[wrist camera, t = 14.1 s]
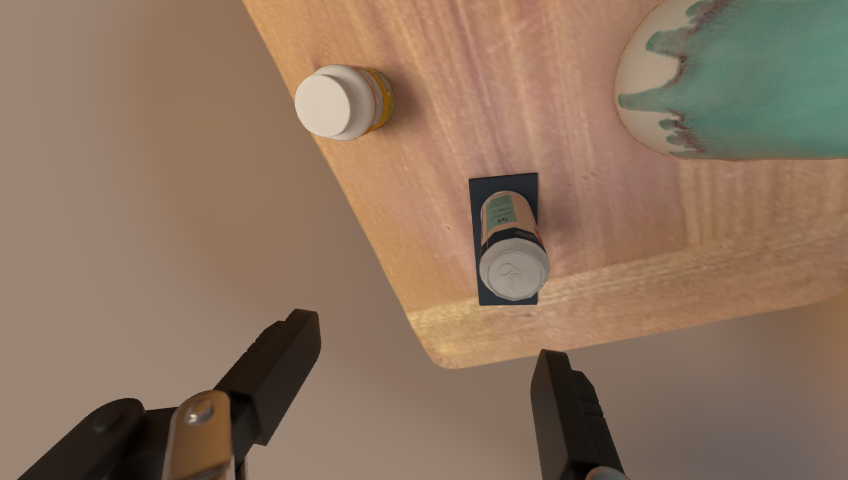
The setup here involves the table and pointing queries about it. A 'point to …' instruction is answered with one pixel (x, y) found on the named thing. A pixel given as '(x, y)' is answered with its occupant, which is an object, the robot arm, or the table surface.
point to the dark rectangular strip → (478, 196)
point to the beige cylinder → (511, 247)
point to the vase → (738, 80)
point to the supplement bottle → (344, 101)
